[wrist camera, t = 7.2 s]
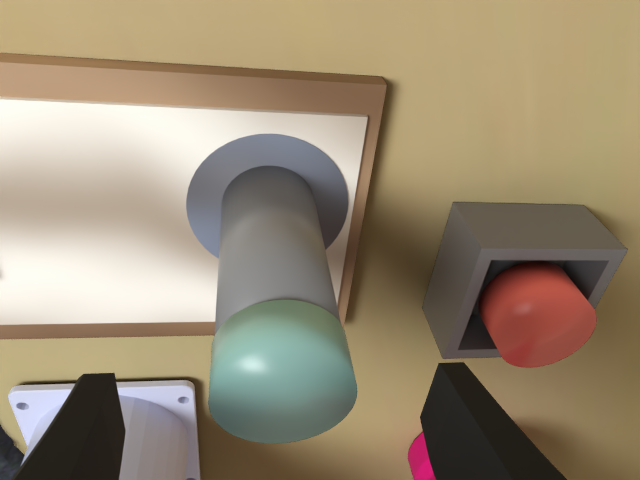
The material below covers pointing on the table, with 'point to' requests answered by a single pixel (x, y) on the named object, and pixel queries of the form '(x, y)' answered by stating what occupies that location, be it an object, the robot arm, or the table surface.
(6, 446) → the dark slate chunk
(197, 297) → the clipboard
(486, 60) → the table surface
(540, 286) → the button
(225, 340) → the marker
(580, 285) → the button box
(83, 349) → the table surface
